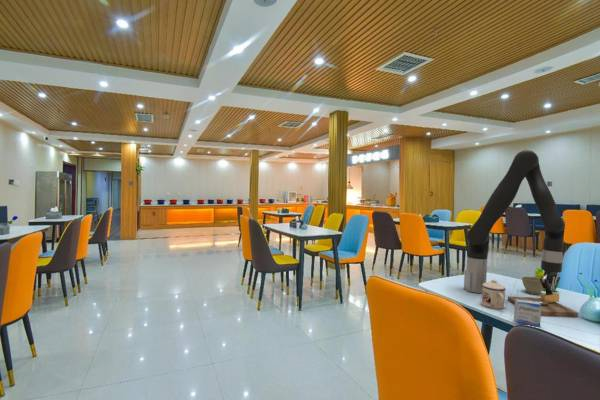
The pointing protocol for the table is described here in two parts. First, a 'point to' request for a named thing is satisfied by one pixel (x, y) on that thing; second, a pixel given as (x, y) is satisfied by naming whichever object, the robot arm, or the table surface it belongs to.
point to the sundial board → (549, 308)
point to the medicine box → (527, 312)
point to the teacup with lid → (493, 295)
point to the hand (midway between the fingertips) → (548, 297)
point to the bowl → (532, 285)
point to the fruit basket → (541, 276)
